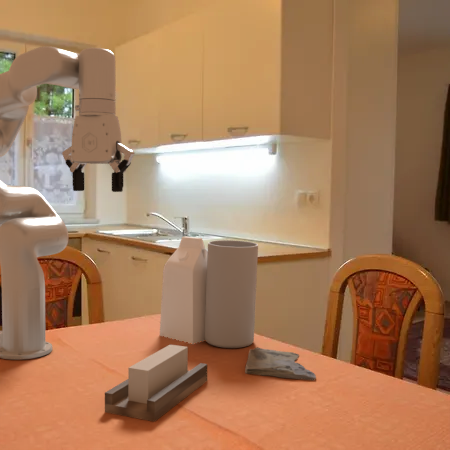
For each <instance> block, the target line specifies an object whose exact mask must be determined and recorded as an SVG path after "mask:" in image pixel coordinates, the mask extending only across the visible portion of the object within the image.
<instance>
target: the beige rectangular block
mask: <svg viewBox="0 0 450 450" xmlns="http://www.w3.org/2000/svg"><path fill="white" fill-rule="evenodd" d="M188 349H189V347H188V346H182V345H178V344H177V345H176V344H169V345H166V346H165V347H163V348H161V349H159V350H158V351H156V352H154V353H152V354H150V355H148V356H147V357H144V358H143V359H142V360H139V361H137V362H135V363H134V364H132V365H131V366H129V367H128V371H127V372H128V375H127V376H128V378H127V379H128V400H129V401H134V402H140V403H146V404H147V400H148V399H149V398H151V397H152V396H154V395H155V394H157V393H158V392H160V391H161V390H162V389H164V388H165V387H167V386H168V385H170V384H171V383H173V382H174V381H175V380H177V379H178V378H180V377H181V376H183V375H184V374H186V373H187V372H188V371H189V369H188V360H189V358H188V357H189V356H188V351H189V350H188Z"/></svg>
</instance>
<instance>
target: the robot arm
mask: <svg viewBox="0 0 450 450" xmlns="http://www.w3.org/2000/svg"><path fill="white" fill-rule="evenodd" d="M45 84H46V85H47V84H48V85H54V86H59V87H64V88H67V89H73V90H78V104H76V105H75V106H74V111H76V112H78V115H75V118H74V122H73V126H72V136H71V146H69V147H68V148H66V149H65V150H63V151H62V153H61V154H62V156H63V159H64V161H65V165H66V167H68V168H69V171H70V172H71V173H72V190H73V192H83V191H85V172H84V171H83V170H84V168H85V167H86V166H87V164H89V165H90V164H91V165H92V164H93V165H95V164H97V165H98V164H100V165H101V164H105V165H106V164H107V165H109V166H110V168H111V169H112V170H113V172H111V192H112V193H122V192H123V188H124V173H126V171H127V169H128V168H129V167H130V166H131V163H132V161H133V158H134V156H135V151H134V150H132V149H130V148H129V147H127V146H125V145H124V144H123V141H122V131H121V126H120V120H119V117H118V116H117V115H116V112H117V111H116V57H115V54H114V52H113V51H111V50H110V49H106V48H101V47H87V48H84V49H82V50H80V52H79V53H77V52H72V51H70V50H66V49H62V48H58V47H55V46H51V45H50V46H40V47H36V48H34V49H30V50H28V51H26V52H23V53H21V54H19V55H17V56H16V57H15V58H14V59H13V61H12V63H11V64H10V66H9V70H8V71H4V72H1V73H0V158H2V157H4V156H6V154H7V153H8V152H9V151H10V149H11V148H12V147H13V143H14V142H15V140H16V138H17V135H18V133H19V132H20V129H21V128H22V126H23V124H24V122H25V120H26V117H27V115H28V112H29V107H30V105H32V104H33V103H34V102H35V100H36V99H37V95H38V88H37V87H38V86H41V85H45ZM123 155H124V157H123ZM122 157H123V159H122ZM68 243H69V231H68V228H67V226H66V224H65V221H63V219H62V218H61V217H60V215H58V213H57V212H56V210H55V209H54V207H52V206H51V204H50V203H49V201H47V199H46V197H44V195H42V193H41V192H39V191H38V190H37V189H36V188H33V187H32V186H27V185H10V184H6V183H4V181H2V179H0V277H1V279H0V280H1V311H2V312H1V314H2V315H1V319H2V320H1V321H2V323H1V325H2V326H1V327H2V330H0V358H1V359H4V360H13V361H14V360H16V361H17V360H30V359H36V358H40V357H44V356H47V355H48V354H50V353H51V352H52V351H53V345H52V343H50V342H49V341H46V285H45V284H46V282H45V281H46V279H45V274H44V273H45V272H44V271H43V267H42V266H41V264H40V262H39V261H38V258H39V257H46V256H51V255H57V254H59V253H61V252H62V251H64V250H65V249H66V248H67V246H68Z"/></svg>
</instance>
